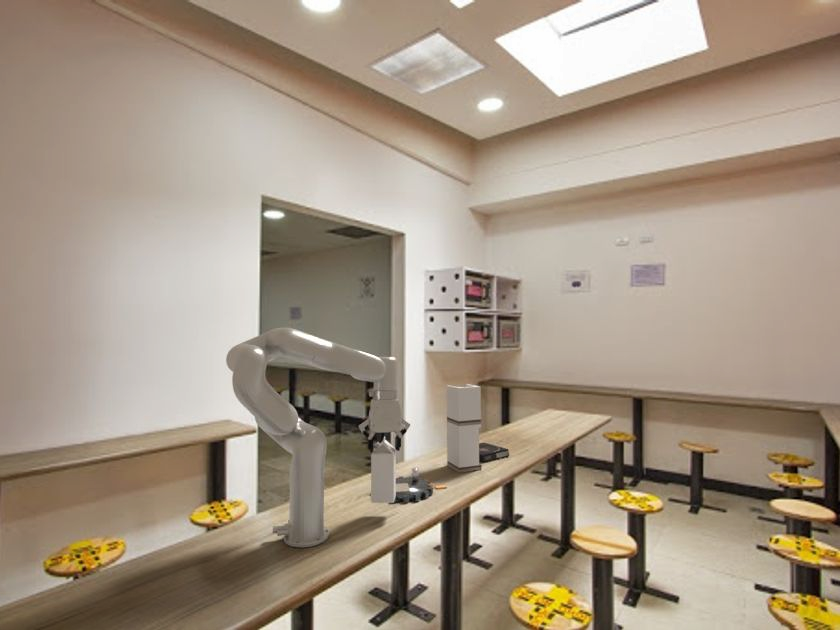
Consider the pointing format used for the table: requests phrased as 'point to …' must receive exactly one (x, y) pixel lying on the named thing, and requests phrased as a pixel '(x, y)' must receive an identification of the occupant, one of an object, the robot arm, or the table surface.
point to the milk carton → (383, 473)
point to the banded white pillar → (463, 427)
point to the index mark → (440, 487)
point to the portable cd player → (491, 452)
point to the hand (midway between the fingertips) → (384, 450)
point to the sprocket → (412, 488)
